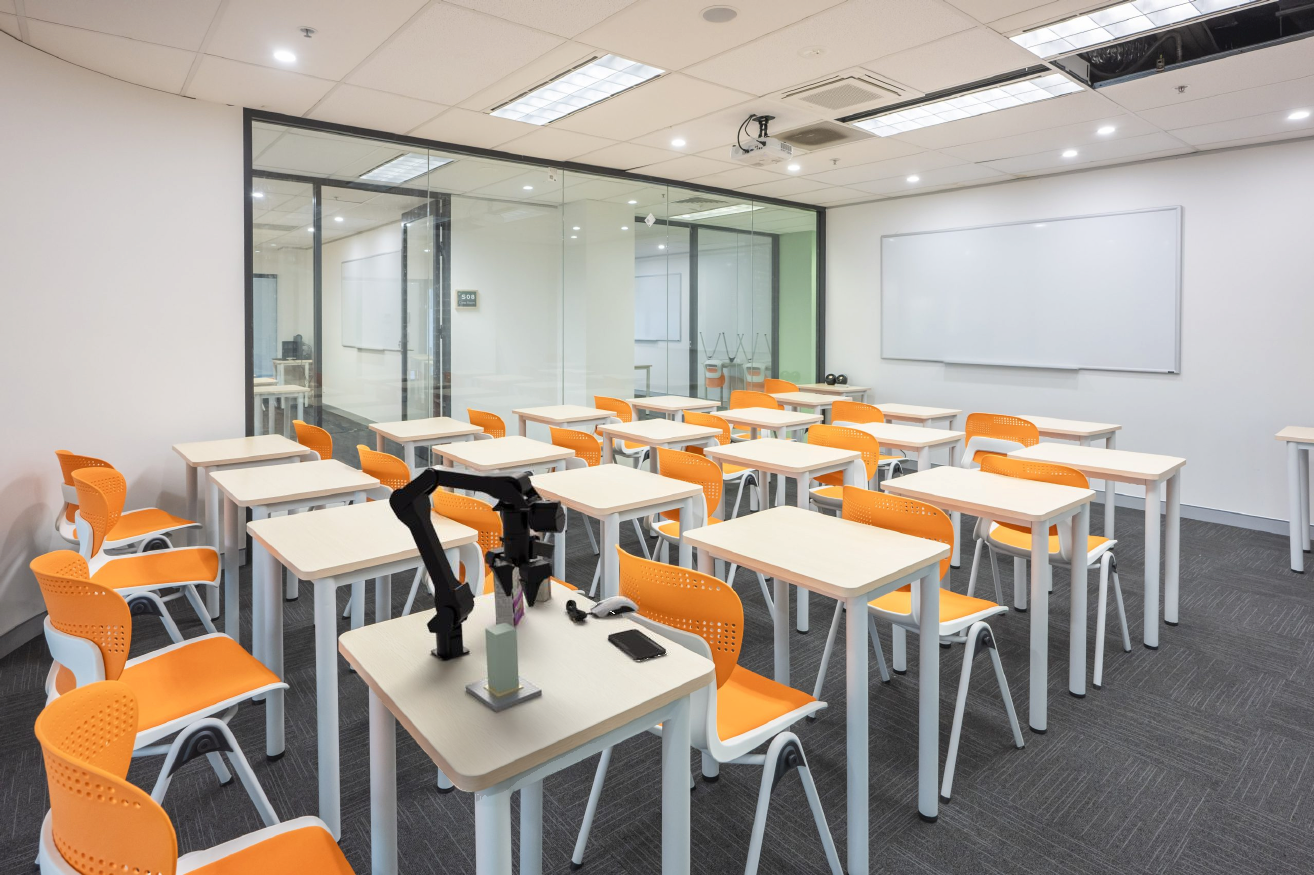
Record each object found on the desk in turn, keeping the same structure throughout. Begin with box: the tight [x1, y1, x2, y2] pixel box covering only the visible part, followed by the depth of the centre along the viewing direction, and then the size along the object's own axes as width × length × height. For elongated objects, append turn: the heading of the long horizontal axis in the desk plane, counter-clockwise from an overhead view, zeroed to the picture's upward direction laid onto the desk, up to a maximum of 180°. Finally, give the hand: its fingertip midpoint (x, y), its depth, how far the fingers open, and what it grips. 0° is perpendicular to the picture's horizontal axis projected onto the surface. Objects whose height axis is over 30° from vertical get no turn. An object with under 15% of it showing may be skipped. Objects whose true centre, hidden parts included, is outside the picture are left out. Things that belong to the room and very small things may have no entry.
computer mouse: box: [565, 595, 640, 623], centre depth 186 cm, size 10×18×4 cm, turn 109°
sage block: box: [484, 622, 520, 694], centre depth 143 cm, size 4×4×12 cm
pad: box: [465, 674, 543, 713], centre depth 144 cm, size 12×10×1 cm
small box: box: [535, 576, 552, 602], centre depth 197 cm, size 5×4×8 cm
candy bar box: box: [492, 567, 525, 628], centre depth 181 cm, size 11×5×16 cm, turn 179°
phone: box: [607, 628, 667, 661], centre depth 165 cm, size 8×1×15 cm
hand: (519, 601), depth 158 cm, fingers open, 9 cm apart
